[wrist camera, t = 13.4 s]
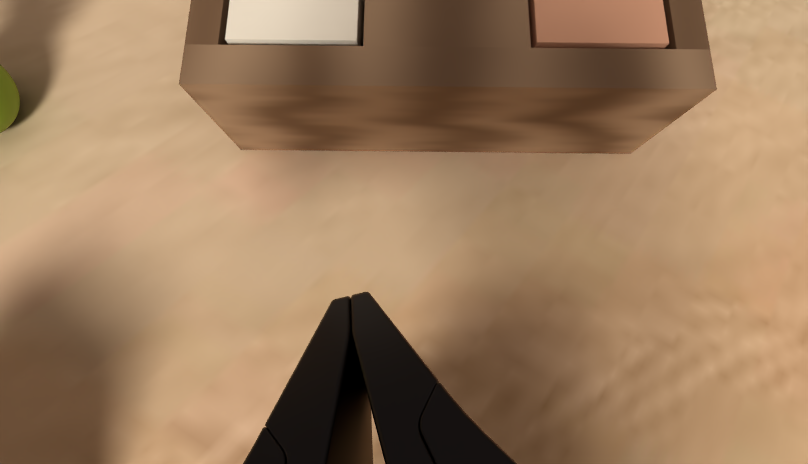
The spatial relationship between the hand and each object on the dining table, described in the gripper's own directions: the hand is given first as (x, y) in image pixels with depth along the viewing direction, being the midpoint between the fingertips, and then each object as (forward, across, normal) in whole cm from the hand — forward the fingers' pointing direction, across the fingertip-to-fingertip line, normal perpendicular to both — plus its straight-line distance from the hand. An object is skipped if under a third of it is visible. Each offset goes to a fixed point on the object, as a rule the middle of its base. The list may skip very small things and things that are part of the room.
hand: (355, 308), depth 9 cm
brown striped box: (+20, -7, 0) cm, 21 cm away
